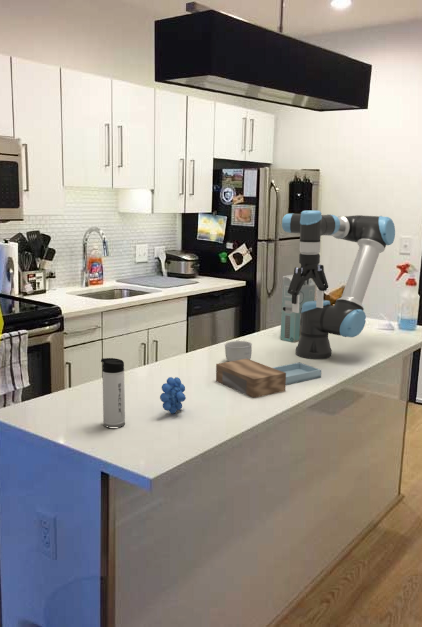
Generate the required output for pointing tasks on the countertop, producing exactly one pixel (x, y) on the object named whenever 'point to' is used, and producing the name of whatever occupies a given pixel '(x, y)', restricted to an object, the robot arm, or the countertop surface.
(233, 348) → the teacup
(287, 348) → the countertop surface
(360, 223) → the robot arm
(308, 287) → the device
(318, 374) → the tray
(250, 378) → the shelf
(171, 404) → the grapes
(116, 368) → the travel mug
